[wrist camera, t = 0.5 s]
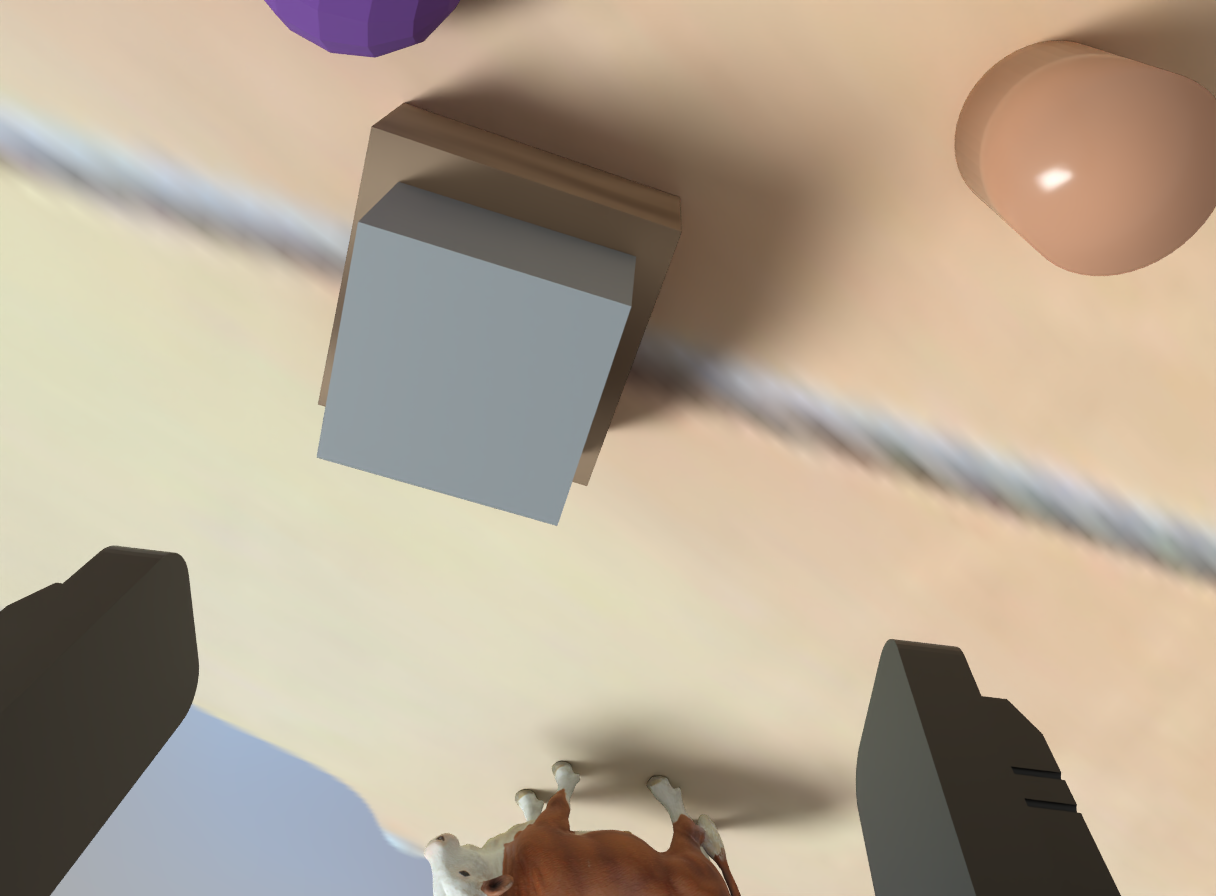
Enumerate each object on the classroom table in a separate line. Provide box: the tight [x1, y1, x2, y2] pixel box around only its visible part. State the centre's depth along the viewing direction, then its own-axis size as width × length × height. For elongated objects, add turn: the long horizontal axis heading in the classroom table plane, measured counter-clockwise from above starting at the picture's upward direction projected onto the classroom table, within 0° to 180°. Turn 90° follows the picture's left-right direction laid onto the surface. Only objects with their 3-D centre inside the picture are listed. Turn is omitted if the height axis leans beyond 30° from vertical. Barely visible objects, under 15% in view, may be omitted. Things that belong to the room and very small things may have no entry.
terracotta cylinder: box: [955, 41, 1216, 276], centre depth 26 cm, size 5×5×6 cm
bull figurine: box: [424, 762, 741, 896], centre depth 40 cm, size 4×13×8 cm, turn 74°
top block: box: [317, 182, 636, 526], centre depth 27 cm, size 7×7×4 cm
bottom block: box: [318, 103, 682, 486], centre depth 30 cm, size 9×9×4 cm
